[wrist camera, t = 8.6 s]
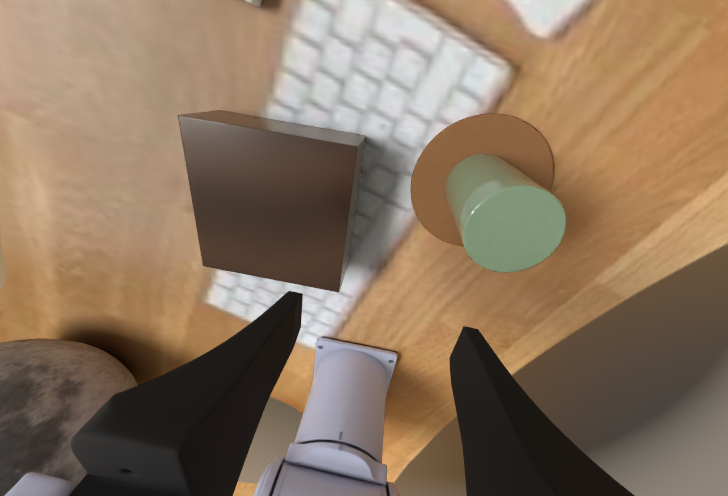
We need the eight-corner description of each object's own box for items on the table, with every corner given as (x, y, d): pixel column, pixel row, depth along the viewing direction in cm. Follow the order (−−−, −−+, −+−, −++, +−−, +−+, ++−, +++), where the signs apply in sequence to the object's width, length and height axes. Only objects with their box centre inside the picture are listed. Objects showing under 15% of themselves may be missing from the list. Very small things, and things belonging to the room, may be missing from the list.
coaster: (517, 255, 21) (518, 257, 21) (398, 233, 22) (398, 234, 22) (579, 127, 17) (581, 127, 17) (429, 102, 17) (429, 102, 17)
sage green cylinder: (499, 222, 20) (540, 280, 14) (437, 211, 20) (450, 264, 14) (525, 159, 18) (587, 196, 12) (455, 147, 18) (481, 177, 12)
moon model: (86, 409, 42) (-141, 638, 24) (-18, 300, 32) (-512, 548, 15) (209, 414, 38) (45, 687, 21) (131, 294, 29) (-287, 609, 11)
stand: (348, 262, 24) (339, 292, 20) (231, 240, 24) (202, 266, 21) (366, 135, 19) (357, 146, 15) (218, 110, 19) (177, 114, 16)
